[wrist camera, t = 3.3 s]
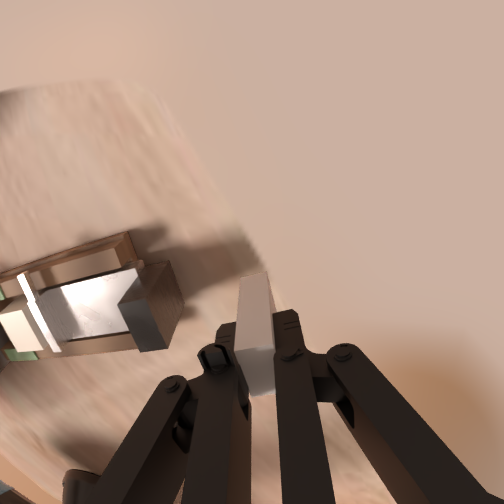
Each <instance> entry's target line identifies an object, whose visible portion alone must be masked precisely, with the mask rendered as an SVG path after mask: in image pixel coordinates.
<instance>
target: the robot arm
mask: <svg viewBox="0 0 504 504" xmlns="http://www.w3.org/2000/svg"><path fill="white" fill-rule="evenodd" d="M197 356H198V358H199V360H200V363H201V365H202V367H203V369H204V373H203V374H202V375H201V376H199V377H197V378H194V379H191V380H188V381H187V380H186V379H185V378H184V377H183V376H180V375H173V376H170V377H167V378H165V379H164V380H162V381H161V382H160V384H159V385H158V386H157V388H156V389H155V391H154V393H153V394H152V396H151V397H150V399H149V400H148V402H147V404H146V405H145V407H144V408H143V410H142V412H141V413H140V415H139V416H138V418H137V419H136V421H135V423H134V424H133V426H132V427H131V429H130V431H129V432H128V434H127V435H126V437H125V439H124V440H123V442H122V443H121V445H120V447H119V448H118V450H117V451H116V453H115V455H114V456H113V458H112V459H111V461H110V463H109V464H108V466H107V467H106V469H105V471H104V472H103V474H102V475H101V477H99V476H97V475H94V474H91V473H88V472H84V471H79V470H68V471H67V472H66V473H65V476H64V478H63V487H64V488H63V504H173V502H174V500H175V498H176V496H177V494H178V491H179V489H180V487H181V485H182V483H183V480H184V478H185V481H184V488H183V494H182V500H181V504H251V403H250V400H249V393H250V395H251V398H252V397H258V396H264V395H270V394H275V393H276V406H277V421H278V436H279V452H280V468H281V486H282V503H283V504H336V503H335V497H334V491H333V485H332V479H331V474H330V468H329V463H328V457H327V452H326V446H325V441H324V436H323V430H322V425H321V420H320V415H319V410H318V405H317V402H332V403H333V406H334V407H335V409H336V410H337V412H338V413H339V415H340V416H341V418H342V420H343V421H344V423H345V424H346V426H347V427H348V429H349V431H350V432H351V434H352V435H353V437H354V438H355V440H356V441H357V443H358V444H359V446H360V448H361V449H362V451H363V452H364V454H365V455H366V457H367V458H368V460H369V461H370V463H371V465H372V466H373V468H374V469H375V471H376V472H377V474H378V475H379V477H380V478H381V480H382V481H383V483H384V484H385V486H386V488H387V489H388V491H389V492H390V494H391V495H392V497H393V498H394V500H395V501H396V503H397V504H504V500H503V499H500V498H498V497H496V496H494V495H492V494H489V493H487V492H486V490H485V489H484V488H483V487H482V486H481V485H480V484H479V482H478V481H477V480H476V479H475V478H474V477H473V475H472V474H471V473H470V472H469V471H468V470H467V469H466V467H465V466H464V465H463V464H462V463H461V462H460V461H459V459H458V458H457V457H456V456H455V455H454V454H453V453H452V451H451V450H450V449H449V448H448V447H447V446H446V445H445V443H444V442H443V441H442V440H441V439H440V438H439V437H438V436H437V434H436V433H435V432H434V431H433V430H432V429H431V428H430V427H429V425H428V424H427V423H426V422H425V421H424V420H423V419H422V418H421V416H420V415H419V414H418V413H417V412H416V411H415V410H414V409H413V408H412V406H411V405H410V404H409V403H408V402H407V401H406V400H405V399H404V397H403V396H402V395H401V394H400V393H399V392H398V391H397V390H396V388H395V387H394V386H393V385H392V384H391V383H390V382H389V381H388V380H387V379H386V378H385V376H384V375H383V374H382V373H381V372H380V371H379V370H378V369H377V367H376V366H375V365H374V364H373V363H372V362H371V361H370V360H369V359H368V358H367V356H366V355H365V354H364V353H363V352H362V351H361V350H360V349H359V348H358V347H357V346H355V345H353V344H349V343H343V344H338V345H335V346H334V347H332V348H330V350H329V351H328V352H327V354H316V353H313V352H311V351H309V350H308V349H307V348H306V346H305V343H304V339H303V334H302V330H301V325H300V321H299V316H298V313H296V312H295V311H294V310H293V309H290V310H286V311H281V312H277V311H276V307H275V303H274V299H273V295H272V291H271V287H270V283H269V279H268V275H267V271H266V272H262V273H258V274H253V275H249V276H244V277H240V287H239V298H238V310H237V321H236V322H232V323H226V324H222V325H221V326H220V327H219V329H218V330H217V333H216V339H215V343H212V344H209V345H207V346H205V347H203V348H202V349H201V350H200V351H199V353H198V355H197ZM0 504H36V503H34V502H32V501H31V500H29V499H28V498H26V497H25V496H23V495H22V494H21V493H19V492H18V491H16V490H15V489H14V488H13V487H10V486H9V485H7V484H6V483H4V482H3V481H1V480H0Z"/></svg>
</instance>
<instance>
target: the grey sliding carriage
mask: <svg viewBox="0 0 504 504" xmlns="http://www.w3.org/2000/svg"><path fill="white" fill-rule="evenodd" d="M17 277H18V279H19V281H20V283H21V286H22V288H23V290H24V292H25V294H26V296H27V299H28V301H29V302H28V303H27V304H28V306H29V308H30V310H31V312H32V314H33V316H34V318H35V320H36V322H37V324H38V325H39V327H40V329H41V331H42V333H43V335H44V336H45V338H46V340H47V342H48V343H49V345H50V347H51V348H52V350H53V352H62V350H63V349H64V348H65V346H66V345H67V344H68V342H69V341H70V340H71V339H75V338H82V337H90V336H97V335H103V334H110V333H116V332H123V331H130V333H131V335H132V337H133V339H134V341H135V343H136V345H137V347H138V349H139V351H140V352H148V351H155V350H162V349H168V347H169V345H170V342H171V339H172V336H173V333H174V331H175V328H176V325H177V322H178V320H179V317H180V314H181V312H182V309H183V306H184V304H185V302H184V300H183V297H182V294H181V292H180V289H179V286H178V284H177V281H176V278H175V276H174V273H173V270H172V267H171V265H170V262H169V261H165V262H161V263H157V264H153V265H149V266H145V265H144V262H143V260H142V259H141V260H137V261H133V262H130V263H126V264H124V265H123V266H122V267H121V268H117V269H113V270H109V271H106V272H102V273H98V274H94V275H90V276H86V277H83V278H79V279H75V280H71V281H68V282H64V283H60V284H56V285H53V286H49V287H45V288H44V289H43V290H41V291H40V292H39V293H38V292H37V290H36V288H35V286H34V283H33V281H32V279H31V277H30V274H29V272H28V271H25V272H22V273H21V274H20V275H18V276H17Z"/></svg>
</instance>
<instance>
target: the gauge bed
mask: <svg viewBox="0 0 504 504" xmlns="http://www.w3.org/2000/svg"><path fill="white" fill-rule="evenodd" d="M137 260H138V258H137V256H136V253H135V250H134V248H133V245H132V242H131V239H130V237H129V234H128V231H127V232H123V233H120V234H117V235H113V236H110V237H107V238H104V239H101V240H97V241H94V242H91V243H88V244H85V245H82V246H79V247H76V248H72V249H69V250H66V251H63V252H60V253H57V254H54V255H51V256H49V257H46V258H43V259H40V260H37V261H34V262H31V263H28V264H26V265H23V266H20V267H17V268H14V269H12V270H9V271H6V272H4V273H1V274H0V312H1V311H3V310H4V309H5V308H6V307H7V306H8V305H9V304H10V303H12V302H13V301H14V300H15V299H16V298H17V297H19V296H20V295H23V294H25V292H24V290H23V288H22V286H21V283H20V281H19V279H18V277H17V276H18V275H20V274H21V273H22V272H25V271H28V272H29V274H30V277H31V279H32V281H33V283H34V286H35V288H36V290H37V291H38V290H41V289H44V288H45V287H49V286H53V285H56V284H60V283H64V282H68V281H71V280H75V279H79V278H83V277H86V276H90V275H94V274H98V273H102V272H106V271H109V270H113V269H117V268H121V267H122V266H123V265H124V264H126V263H130V262H133V261H137ZM131 349H138V347H137V345H136V343H135V341H134V339H133V337H132V335H131V333H130V331H123V332H116V333H110V334H103V335H97V336H90V337H82V338H75V339H71V340H70V341H69V342H68V344H67V345H66V346H65V348H64V349H63V350H62V352H53V350H52V348H51V347H50V345H49V344H48V345H47V346H46V348H45V349H44V350H38V351H27V352H17V350H16V348H15V347H14V345H13V343H12V342H11V340H10V338H9V336H8V335H7V333H6V331H5V329H4V327H3V325H2V324H1V322H0V372H1V371H2V370H3V369H4V368H5V366H6V365H7V364H8V363H9V362H10V361H28V360H38V359H43V358H56V357H68V356H79V355H89V354H98V353H107V352H115V351H123V350H131Z"/></svg>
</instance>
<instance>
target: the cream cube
mask: <svg viewBox="0 0 504 504" xmlns="http://www.w3.org/2000/svg"><path fill="white" fill-rule="evenodd" d="M41 290H43V289H41ZM41 290H38V291H37V292H38V293H39V292H40V291H41ZM28 302H29V301H28V299H27V296H26V294H23V295H20V296H19V297H17V298H16V299H15V300H14V301H13V302H12V303H10V304H9V305H8V306H7V307H6V308H5V309H4V310H3V311H1V312H0V322H1V324H2V325H3V327H4V329H5V331H6V333H7V335H8V336H9V338H10V340H11V342H12V343H13V345H14V347H15V348H16V350H17V352H27V351H38V350H44V349H45V348H46V346H47V345H48V344H49V343H48V342H47V340H46V338H45V336H44V335H43V333H42V331H41V329H40V327H39V325H38V324H37V322H36V320H35V318H34V316H33V314H32V312H31V310H30V308H29V306H28V304H27V303H28Z"/></svg>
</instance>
